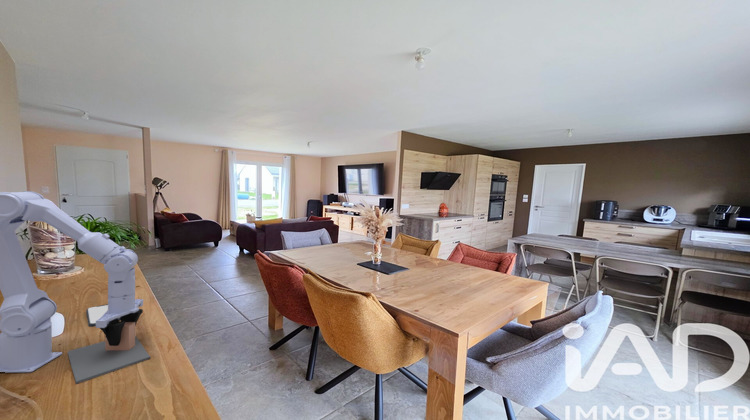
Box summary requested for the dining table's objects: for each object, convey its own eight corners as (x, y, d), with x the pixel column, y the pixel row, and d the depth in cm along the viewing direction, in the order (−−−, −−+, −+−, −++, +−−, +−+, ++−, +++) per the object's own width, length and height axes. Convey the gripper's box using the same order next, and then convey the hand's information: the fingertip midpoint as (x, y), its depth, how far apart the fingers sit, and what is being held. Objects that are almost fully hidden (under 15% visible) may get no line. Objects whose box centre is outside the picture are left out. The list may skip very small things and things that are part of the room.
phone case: (124, 321, 97) (118, 305, 108) (124, 317, 97) (118, 301, 108) (88, 329, 91) (85, 312, 101) (88, 325, 91) (85, 308, 101)
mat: (150, 358, 77) (150, 356, 77) (76, 384, 66) (76, 381, 66) (133, 334, 88) (133, 333, 88) (67, 353, 77) (67, 351, 77)
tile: (105, 350, 79) (105, 326, 78) (112, 345, 81) (112, 321, 81) (128, 350, 79) (129, 326, 79) (135, 345, 82) (135, 322, 81)
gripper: (117, 304, 73) (116, 354, 73) (154, 285, 87) (153, 328, 88) (86, 303, 72) (86, 355, 72) (129, 284, 86) (128, 327, 87)
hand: (121, 340), depth 80 cm, fingers open, 4 cm apart
